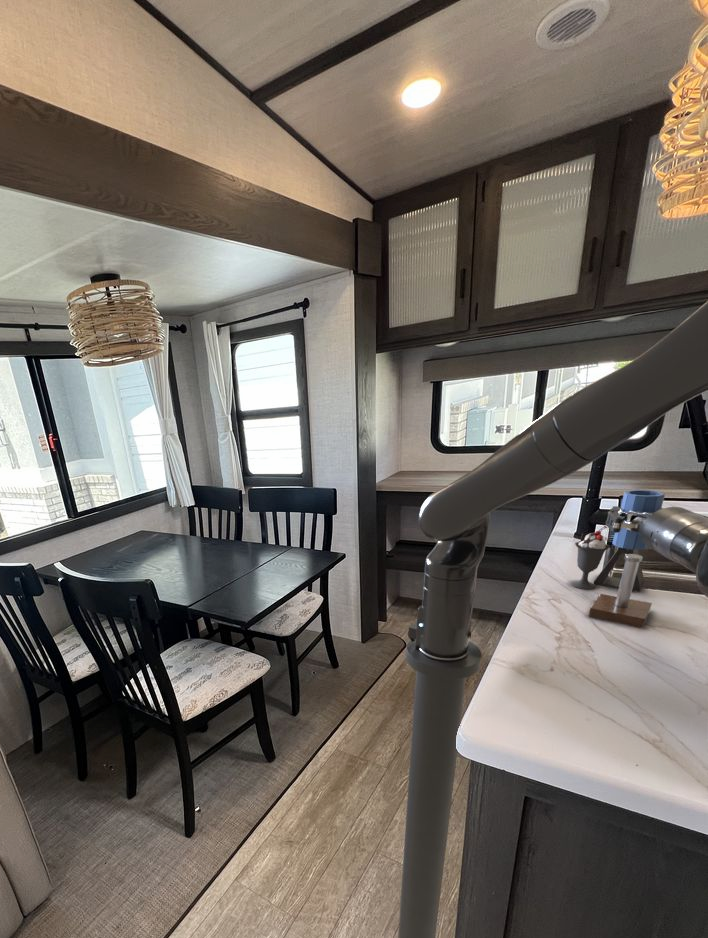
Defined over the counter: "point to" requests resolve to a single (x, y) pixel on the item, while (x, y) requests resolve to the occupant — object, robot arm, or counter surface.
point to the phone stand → (615, 582)
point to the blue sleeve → (640, 502)
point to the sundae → (589, 556)
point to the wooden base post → (623, 599)
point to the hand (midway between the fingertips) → (632, 511)
